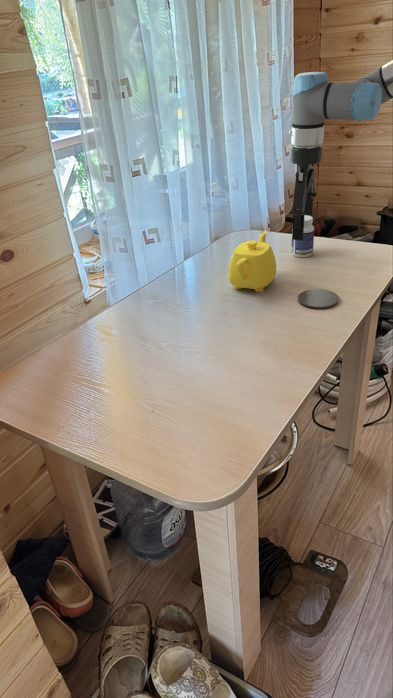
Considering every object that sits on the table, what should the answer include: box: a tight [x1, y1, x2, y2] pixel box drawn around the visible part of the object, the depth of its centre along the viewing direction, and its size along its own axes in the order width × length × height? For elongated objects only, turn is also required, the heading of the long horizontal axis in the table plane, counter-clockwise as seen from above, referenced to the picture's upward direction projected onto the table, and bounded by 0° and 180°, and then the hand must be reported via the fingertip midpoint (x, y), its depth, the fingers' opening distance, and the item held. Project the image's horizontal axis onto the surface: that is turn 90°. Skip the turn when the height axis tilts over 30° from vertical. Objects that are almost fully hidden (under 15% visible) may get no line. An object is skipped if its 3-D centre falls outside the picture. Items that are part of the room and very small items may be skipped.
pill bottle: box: [291, 215, 315, 258], centre depth 136 cm, size 6×6×10 cm
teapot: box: [227, 229, 277, 293], centre depth 123 cm, size 18×11×11 cm, turn 154°
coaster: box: [297, 288, 340, 310], centre depth 116 cm, size 9×9×1 cm
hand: (302, 230), depth 135 cm, fingers open, 13 cm apart
